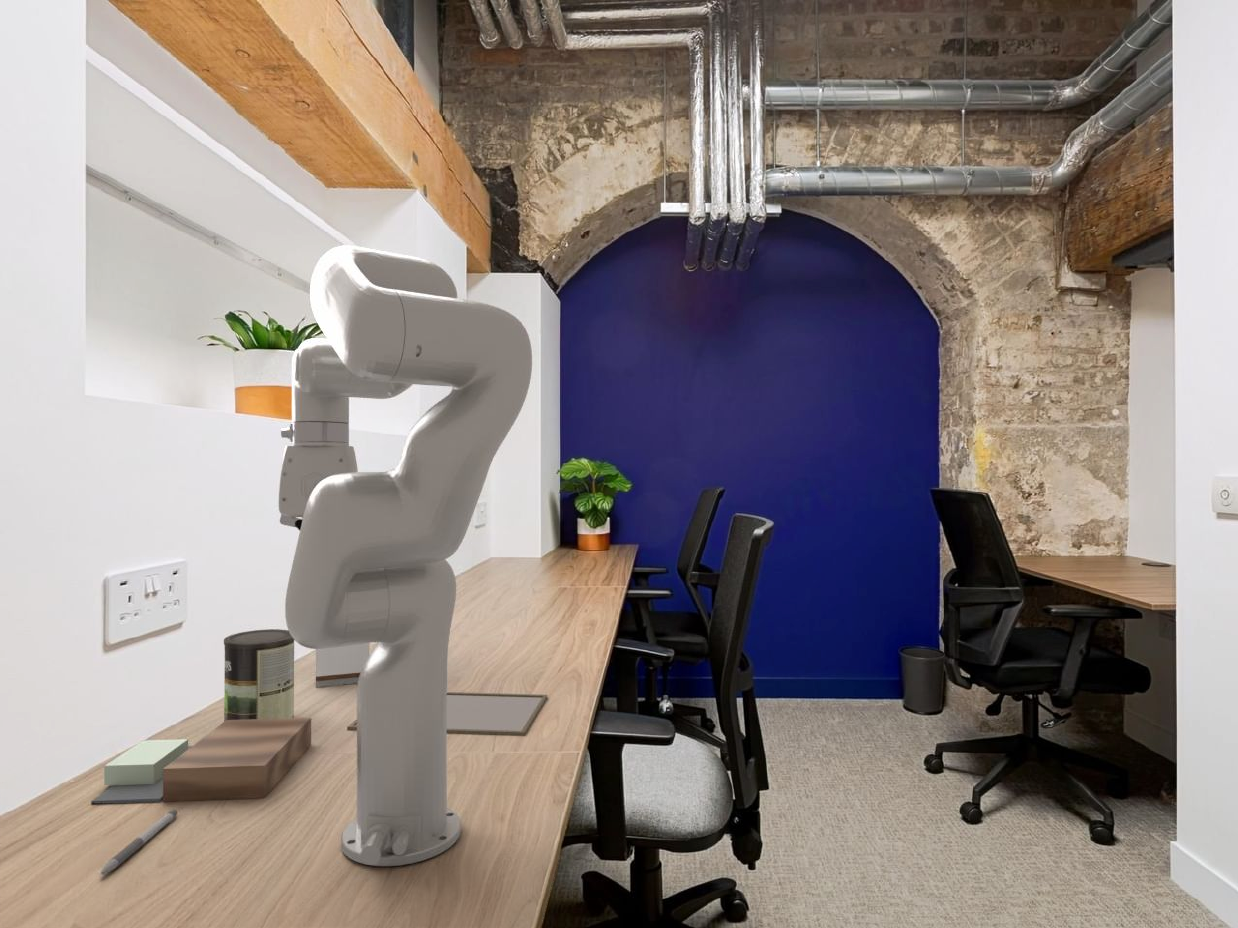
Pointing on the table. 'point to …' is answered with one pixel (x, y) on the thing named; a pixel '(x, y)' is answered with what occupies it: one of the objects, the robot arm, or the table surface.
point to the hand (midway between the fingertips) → (320, 566)
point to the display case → (340, 664)
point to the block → (143, 762)
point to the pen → (138, 842)
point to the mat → (132, 793)
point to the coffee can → (259, 675)
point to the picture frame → (489, 713)
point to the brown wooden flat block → (237, 760)
